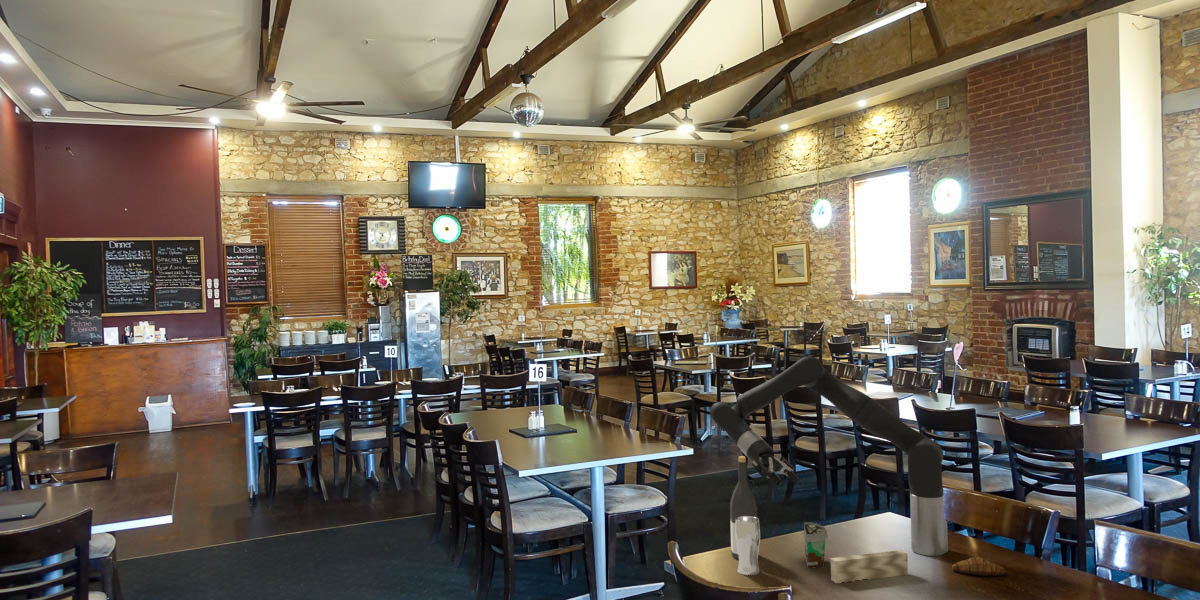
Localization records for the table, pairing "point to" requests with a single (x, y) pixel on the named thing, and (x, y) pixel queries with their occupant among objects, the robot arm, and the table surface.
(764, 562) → the table surface
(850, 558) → the maple board
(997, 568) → the croissant
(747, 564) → the beer glass
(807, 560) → the food container
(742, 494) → the wine bottle
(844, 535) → the table surface
